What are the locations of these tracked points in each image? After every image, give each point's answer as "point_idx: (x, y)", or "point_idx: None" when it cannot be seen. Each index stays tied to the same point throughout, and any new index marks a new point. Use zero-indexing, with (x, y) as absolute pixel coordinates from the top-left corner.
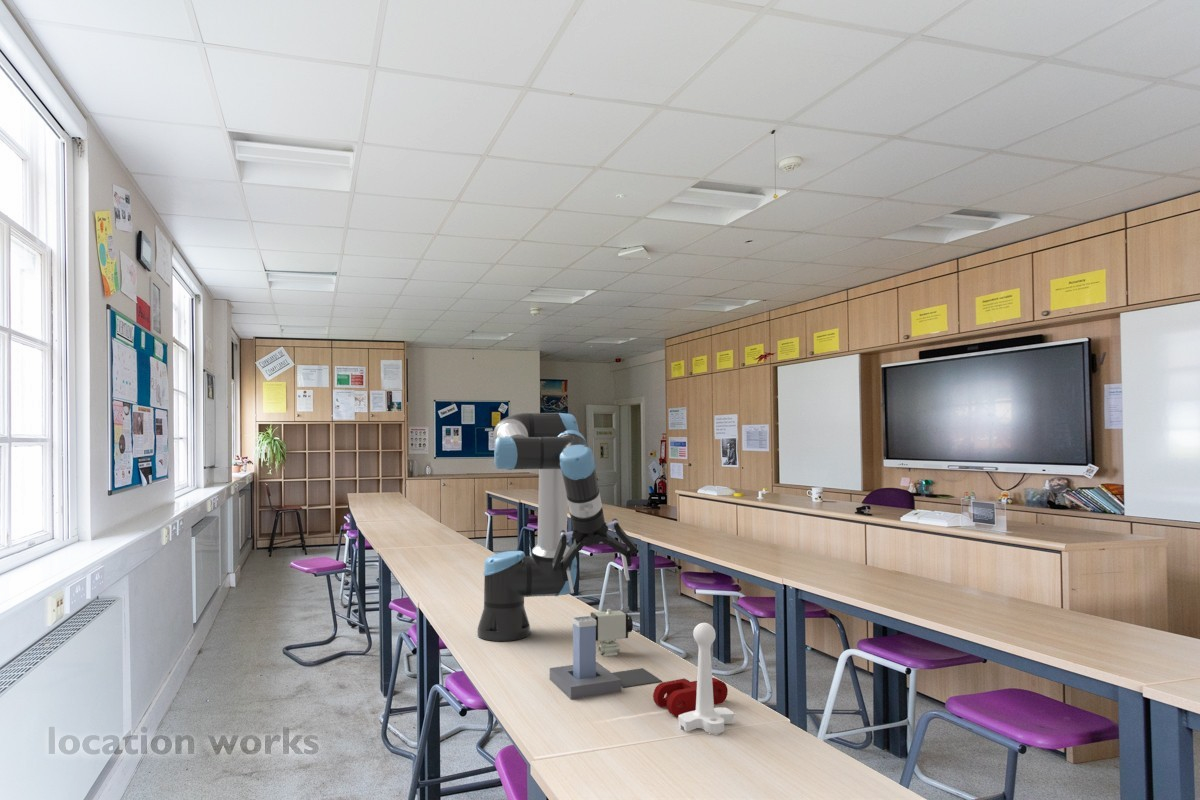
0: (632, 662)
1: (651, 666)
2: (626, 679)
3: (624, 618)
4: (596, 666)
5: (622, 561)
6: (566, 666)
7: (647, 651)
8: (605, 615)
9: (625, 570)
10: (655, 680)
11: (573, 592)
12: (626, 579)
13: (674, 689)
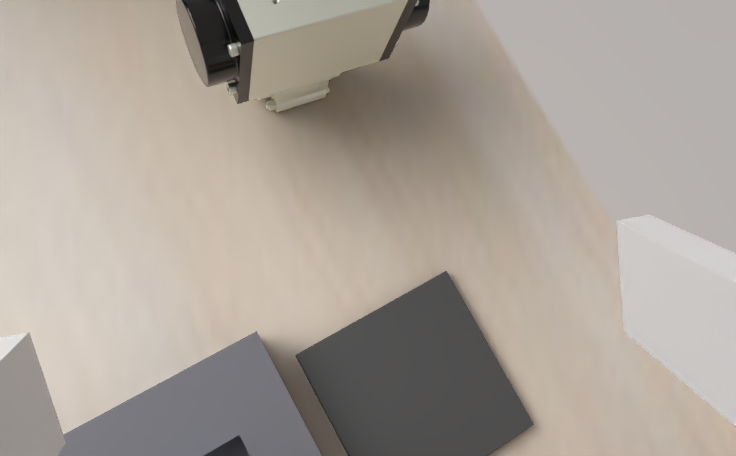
0: (393, 170)
1: (471, 216)
2: (392, 424)
3: (396, 12)
4: (262, 404)
5: (730, 298)
6: (108, 423)
7: (441, 33)
8: (297, 18)
9: (707, 394)
10: (507, 422)
11: (57, 447)
12: (631, 337)
13: None
